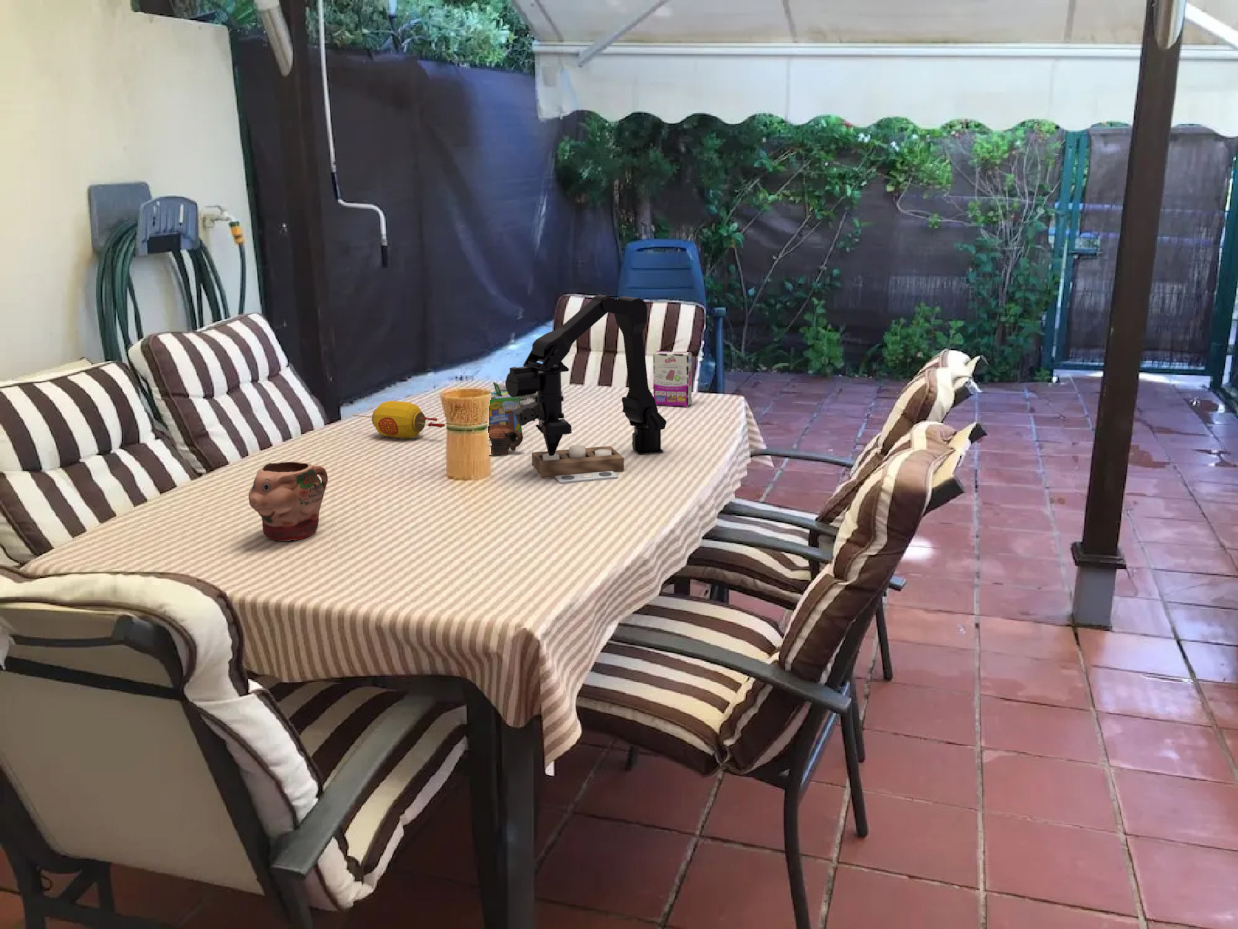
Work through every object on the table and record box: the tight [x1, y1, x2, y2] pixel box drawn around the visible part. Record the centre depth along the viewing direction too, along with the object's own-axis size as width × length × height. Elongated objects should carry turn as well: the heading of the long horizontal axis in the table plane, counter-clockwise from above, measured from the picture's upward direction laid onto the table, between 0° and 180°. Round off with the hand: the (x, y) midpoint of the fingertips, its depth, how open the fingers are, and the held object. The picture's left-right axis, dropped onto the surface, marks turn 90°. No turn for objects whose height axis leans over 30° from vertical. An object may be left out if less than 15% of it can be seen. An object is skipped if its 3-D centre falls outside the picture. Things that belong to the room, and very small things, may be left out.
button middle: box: [568, 444, 586, 459], centre depth 246 cm, size 4×4×3 cm
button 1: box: [543, 454, 559, 461], centre depth 245 cm, size 4×4×3 cm
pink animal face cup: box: [248, 461, 329, 542], centre depth 202 cm, size 20×12×14 cm, turn 159°
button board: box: [531, 445, 625, 479], centre depth 247 cm, size 20×12×3 cm, turn 106°
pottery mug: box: [488, 424, 524, 456], centre depth 263 cm, size 12×10×8 cm
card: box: [554, 471, 619, 484], centre depth 239 cm, size 14×5×1 cm, turn 106°
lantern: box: [352, 400, 446, 440], centre depth 277 cm, size 10×10×30 cm
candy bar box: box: [652, 350, 693, 408], centre depth 313 cm, size 11×5×16 cm, turn 73°
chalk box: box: [489, 381, 523, 438], centre depth 277 cm, size 9×9×15 cm
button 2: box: [595, 449, 611, 456], centre depth 249 cm, size 4×4×3 cm
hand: (551, 455), depth 245 cm, fingers closed, pressing on button 1
